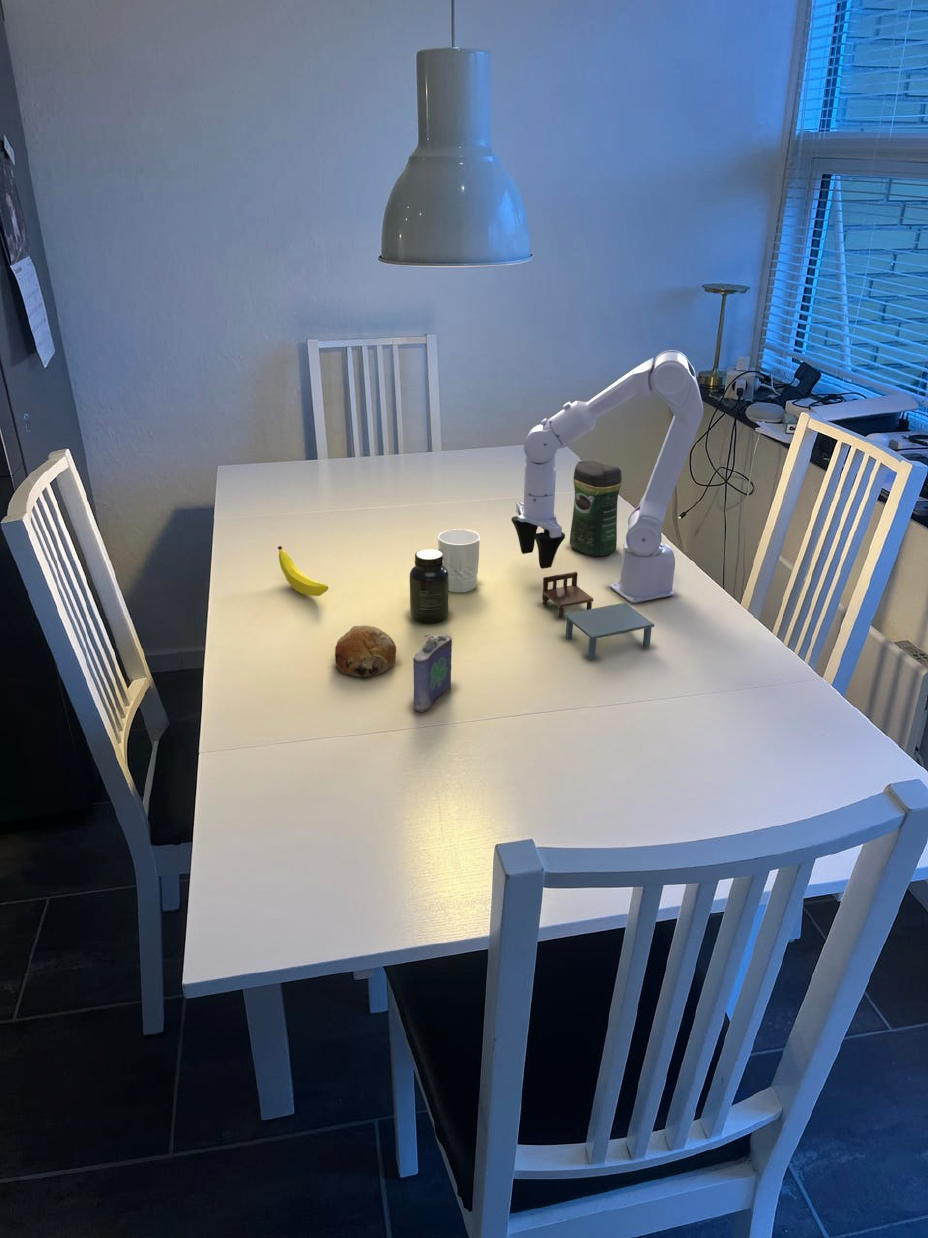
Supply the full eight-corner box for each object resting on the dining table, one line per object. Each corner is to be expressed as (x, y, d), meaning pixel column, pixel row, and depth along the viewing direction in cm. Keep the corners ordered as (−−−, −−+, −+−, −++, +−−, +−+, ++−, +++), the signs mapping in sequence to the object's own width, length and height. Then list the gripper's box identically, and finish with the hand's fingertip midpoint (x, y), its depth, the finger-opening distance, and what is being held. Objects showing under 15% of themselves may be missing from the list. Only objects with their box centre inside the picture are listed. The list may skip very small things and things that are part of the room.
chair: (572, 597, 178) (573, 569, 176) (592, 613, 172) (594, 585, 169) (539, 603, 176) (541, 575, 173) (559, 620, 170) (560, 591, 167)
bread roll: (402, 678, 158) (409, 630, 158) (378, 682, 148) (386, 631, 148) (347, 668, 161) (354, 621, 160) (320, 671, 151) (328, 621, 151)
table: (623, 625, 168) (625, 602, 166) (651, 647, 161) (654, 623, 159) (563, 637, 164) (564, 614, 162) (589, 661, 156) (591, 637, 154)
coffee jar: (622, 551, 198) (630, 465, 190) (594, 560, 194) (601, 472, 185) (590, 537, 205) (596, 453, 196) (562, 545, 201) (567, 460, 192)
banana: (322, 613, 171) (319, 581, 168) (274, 578, 185) (271, 547, 182) (336, 609, 173) (334, 577, 170) (288, 574, 186) (285, 544, 184)
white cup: (475, 596, 178) (475, 546, 174) (433, 592, 180) (433, 542, 175) (482, 579, 185) (483, 530, 181) (443, 575, 186) (443, 527, 182)
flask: (424, 714, 141) (423, 650, 137) (407, 709, 143) (406, 646, 138) (455, 686, 149) (455, 625, 144) (438, 682, 150) (438, 621, 145)
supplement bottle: (413, 606, 174) (412, 545, 168) (450, 608, 173) (450, 547, 168) (407, 623, 168) (406, 560, 162) (446, 625, 167) (446, 562, 162)
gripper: (502, 482, 180) (500, 549, 186) (538, 507, 168) (535, 577, 174) (535, 477, 182) (532, 544, 188) (573, 502, 170) (569, 571, 177)
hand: (536, 559), depth 181 cm, fingers open, 7 cm apart
